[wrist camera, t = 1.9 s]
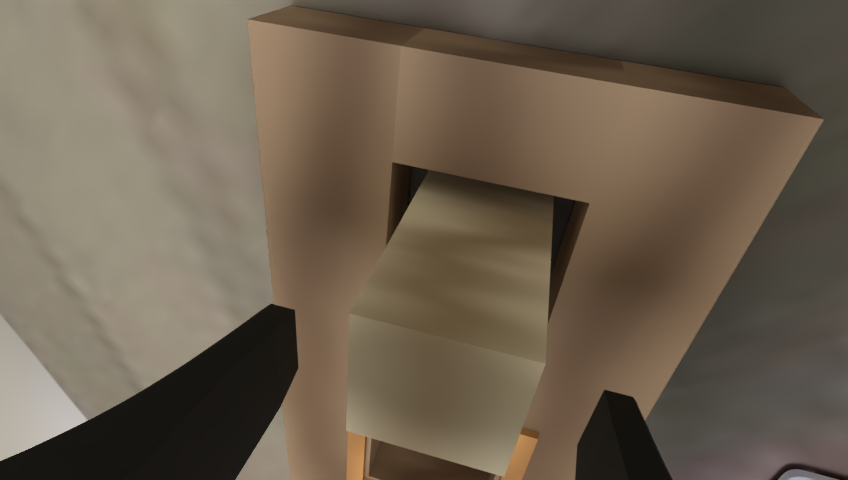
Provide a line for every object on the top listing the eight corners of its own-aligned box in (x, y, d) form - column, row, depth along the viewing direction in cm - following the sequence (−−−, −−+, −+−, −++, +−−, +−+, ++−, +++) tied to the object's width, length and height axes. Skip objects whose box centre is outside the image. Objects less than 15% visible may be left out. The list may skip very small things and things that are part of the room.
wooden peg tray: (783, 87, 13) (830, 123, 11) (557, 518, 26) (556, 576, 24) (291, 5, 15) (241, 21, 13) (310, 444, 28) (288, 491, 26)
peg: (554, 182, 16) (545, 363, 9) (527, 277, 18) (504, 477, 12) (435, 157, 16) (349, 313, 10) (423, 253, 19) (345, 430, 12)
